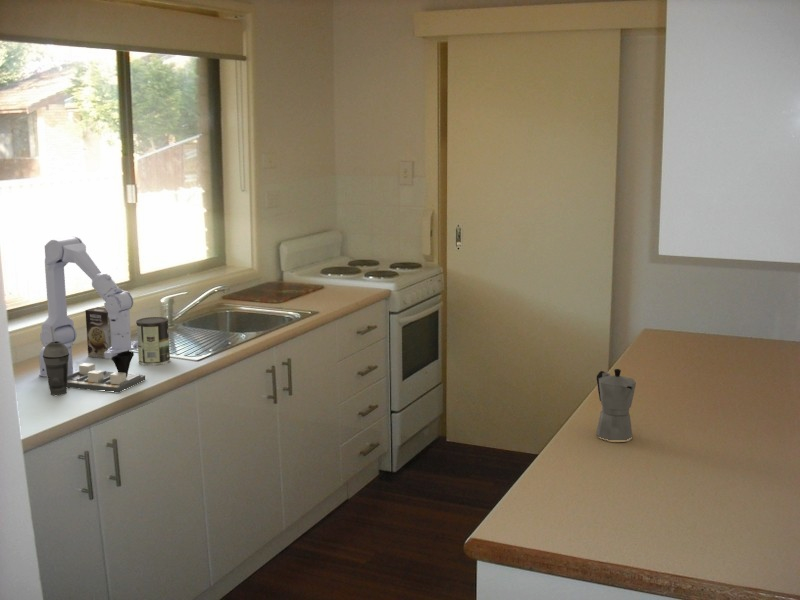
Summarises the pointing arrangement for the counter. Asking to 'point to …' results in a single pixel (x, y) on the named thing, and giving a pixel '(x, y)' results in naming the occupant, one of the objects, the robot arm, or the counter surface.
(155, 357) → the coffee can
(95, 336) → the coffee box
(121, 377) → the tab right
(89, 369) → the tab left
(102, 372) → the tab middle
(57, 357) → the beverage cup
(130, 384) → the switch panel
